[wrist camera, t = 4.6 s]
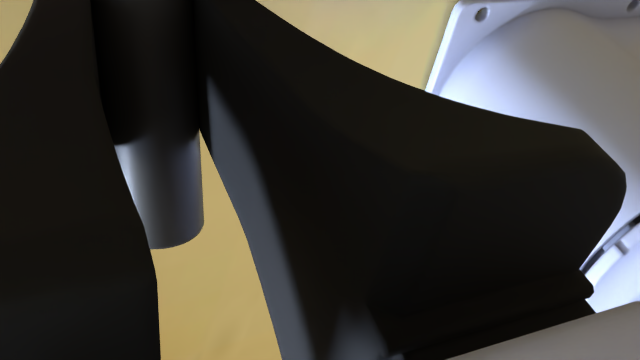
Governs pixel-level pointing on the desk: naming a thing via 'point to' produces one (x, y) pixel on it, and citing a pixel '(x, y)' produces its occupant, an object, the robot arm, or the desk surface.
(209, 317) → the desk surface
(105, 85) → the brown wooden tray
